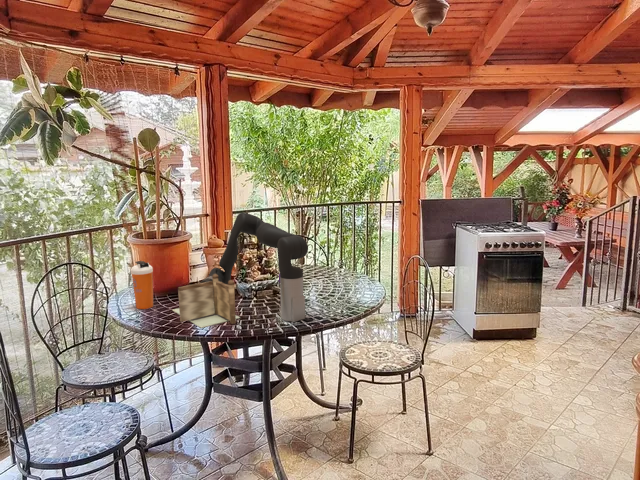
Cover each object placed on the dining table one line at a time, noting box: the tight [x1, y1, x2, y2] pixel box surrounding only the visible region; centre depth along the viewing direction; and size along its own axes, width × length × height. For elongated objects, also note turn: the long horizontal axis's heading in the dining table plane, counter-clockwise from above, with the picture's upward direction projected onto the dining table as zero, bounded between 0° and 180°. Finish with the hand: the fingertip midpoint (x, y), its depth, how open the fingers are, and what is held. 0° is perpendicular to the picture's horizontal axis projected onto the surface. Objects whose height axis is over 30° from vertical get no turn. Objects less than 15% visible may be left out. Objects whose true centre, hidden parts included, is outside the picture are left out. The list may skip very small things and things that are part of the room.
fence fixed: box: [212, 274, 237, 325], centre depth 178 cm, size 16×2×17 cm, turn 40°
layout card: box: [171, 307, 241, 329], centre depth 186 cm, size 28×17×1 cm, turn 40°
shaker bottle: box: [130, 260, 154, 310], centre depth 194 cm, size 9×9×20 cm
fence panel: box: [177, 281, 214, 323], centre depth 178 cm, size 14×1×14 cm, turn 129°
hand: (195, 297), depth 185 cm, fingers closed
